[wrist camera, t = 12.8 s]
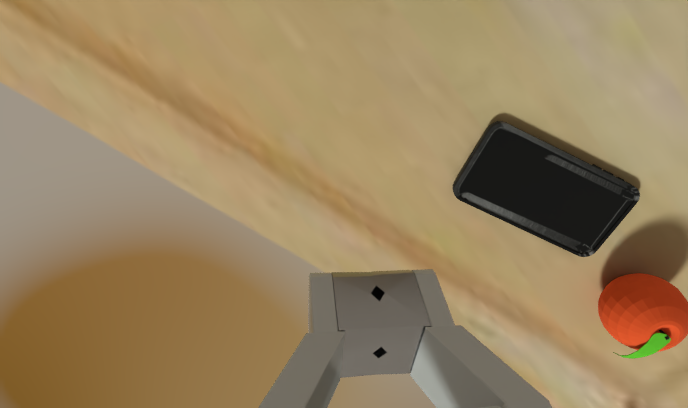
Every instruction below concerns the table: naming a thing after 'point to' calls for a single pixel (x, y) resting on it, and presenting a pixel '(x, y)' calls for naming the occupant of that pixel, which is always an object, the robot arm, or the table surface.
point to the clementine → (644, 313)
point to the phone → (543, 190)
